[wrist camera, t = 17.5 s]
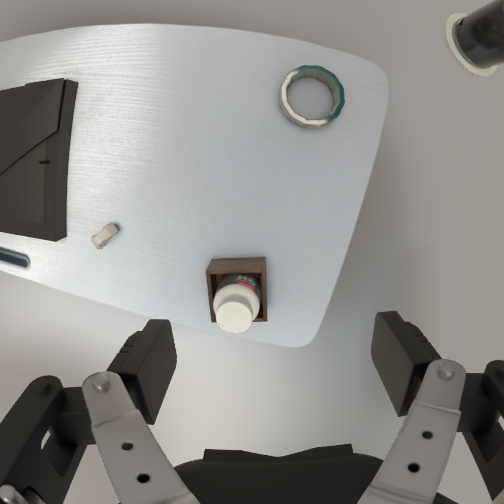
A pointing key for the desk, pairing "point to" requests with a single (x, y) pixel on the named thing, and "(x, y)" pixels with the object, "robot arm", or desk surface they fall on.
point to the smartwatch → (104, 236)
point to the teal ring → (323, 76)
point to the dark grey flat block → (35, 157)
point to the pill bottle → (237, 301)
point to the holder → (232, 267)
